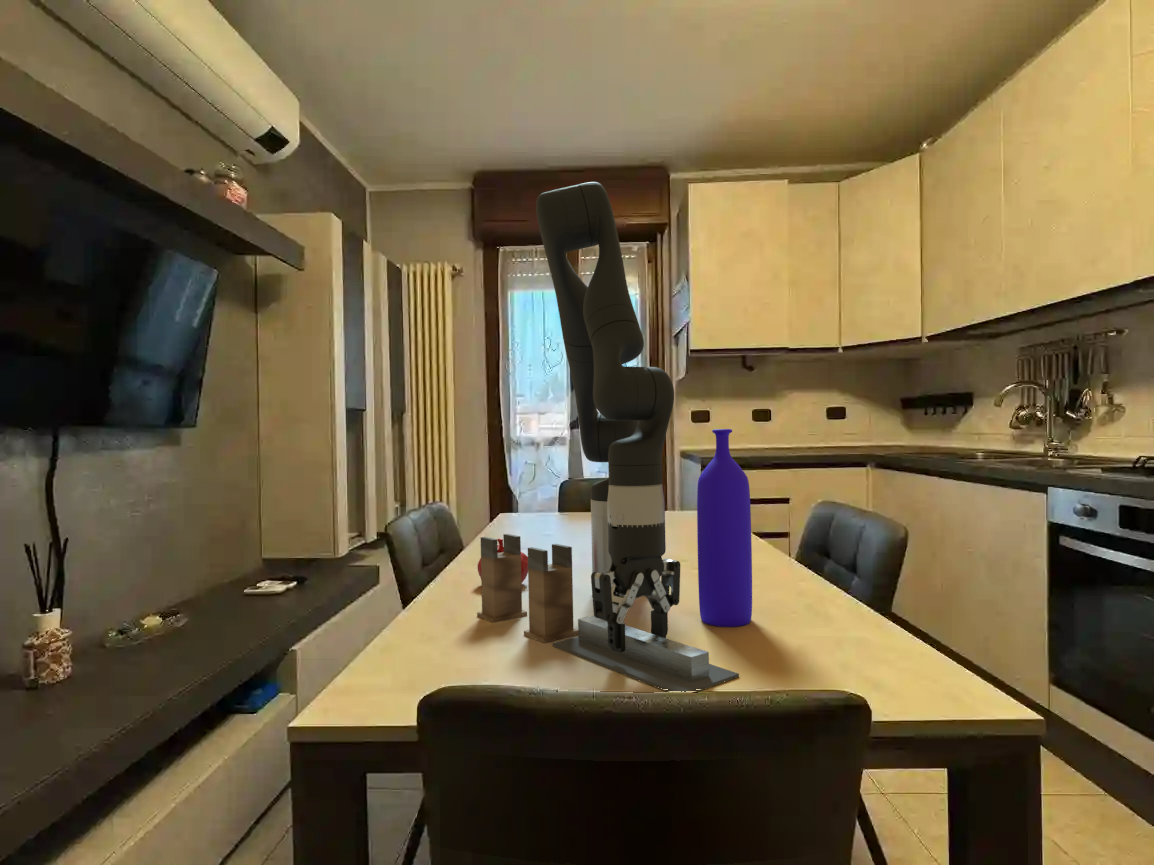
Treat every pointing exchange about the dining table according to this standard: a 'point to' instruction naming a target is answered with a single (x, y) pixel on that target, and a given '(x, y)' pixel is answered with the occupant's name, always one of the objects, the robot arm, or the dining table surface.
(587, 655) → the mat
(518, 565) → the post
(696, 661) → the rail
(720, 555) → the bottle
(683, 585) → the dining table surface
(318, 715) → the dining table surface
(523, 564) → the pomegranate
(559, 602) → the post
